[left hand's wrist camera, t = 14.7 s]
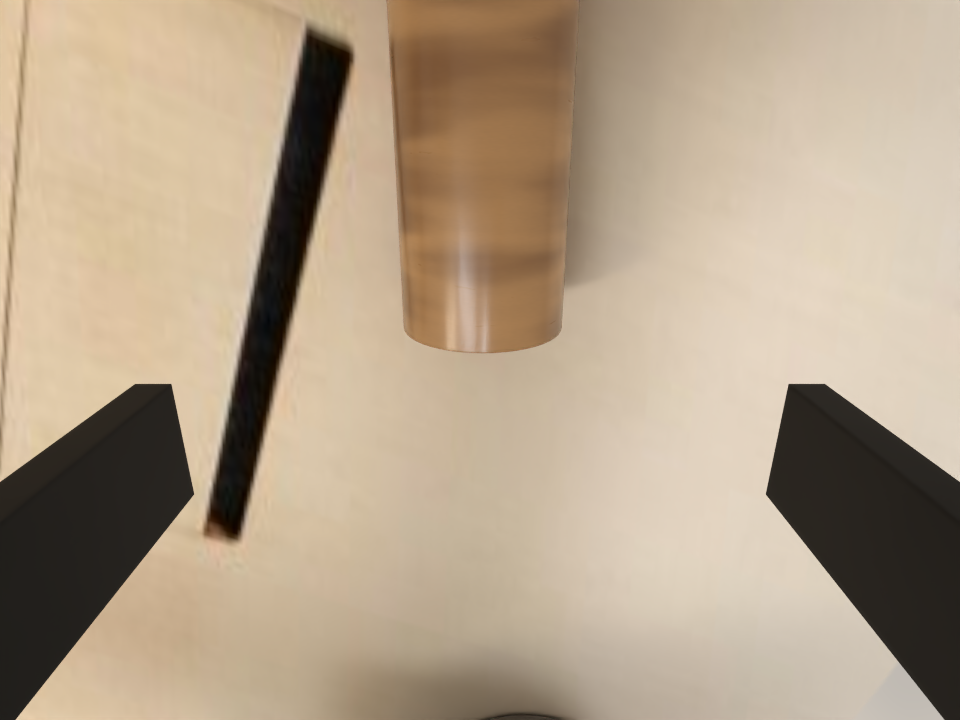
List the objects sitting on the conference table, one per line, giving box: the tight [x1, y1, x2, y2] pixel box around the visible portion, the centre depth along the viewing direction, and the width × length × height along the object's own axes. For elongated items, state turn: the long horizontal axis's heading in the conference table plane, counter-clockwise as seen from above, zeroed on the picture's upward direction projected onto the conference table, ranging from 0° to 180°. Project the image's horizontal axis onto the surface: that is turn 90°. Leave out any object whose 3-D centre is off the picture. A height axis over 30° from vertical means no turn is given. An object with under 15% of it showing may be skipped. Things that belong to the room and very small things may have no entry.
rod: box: [387, 0, 580, 353], centre depth 25 cm, size 27×8×8 cm, turn 0°
